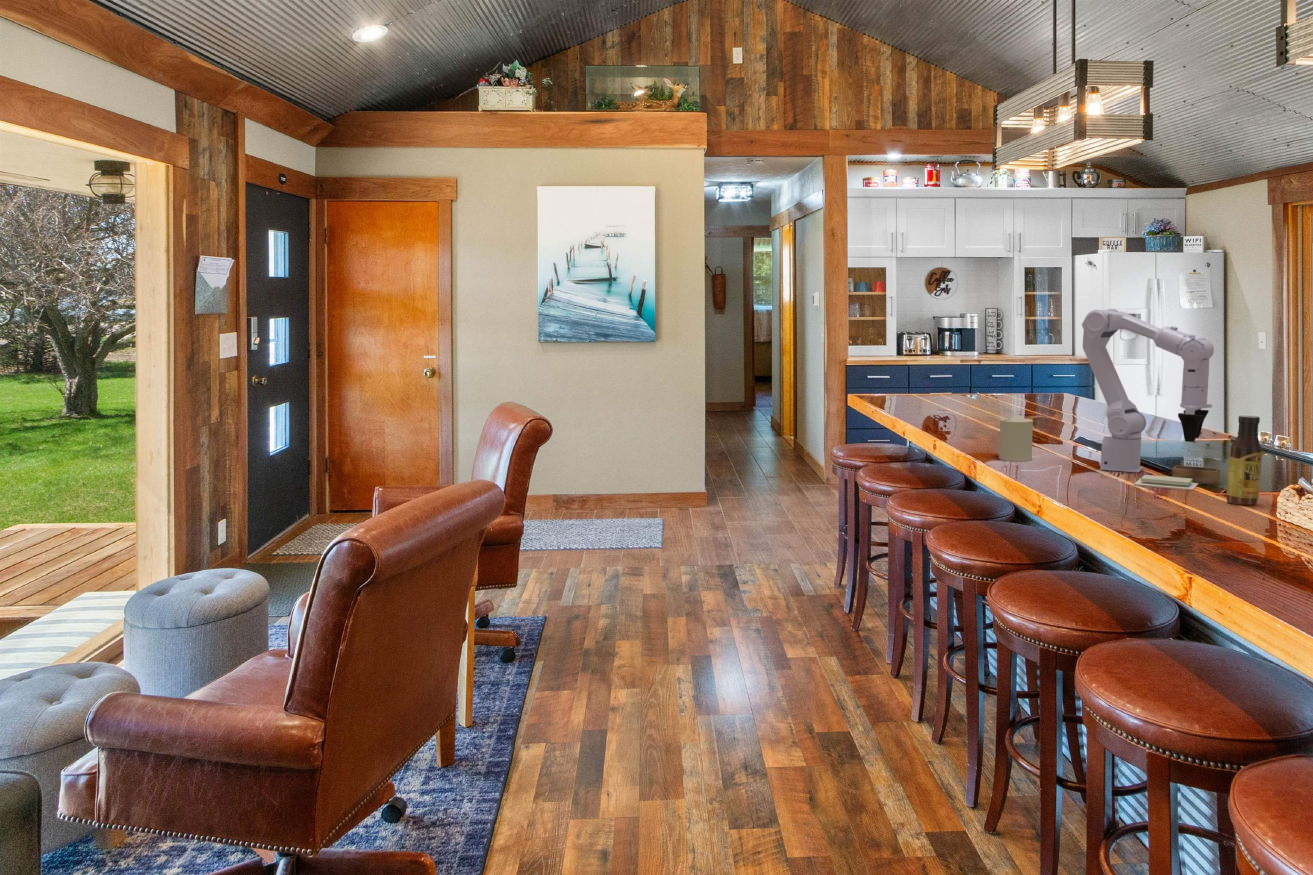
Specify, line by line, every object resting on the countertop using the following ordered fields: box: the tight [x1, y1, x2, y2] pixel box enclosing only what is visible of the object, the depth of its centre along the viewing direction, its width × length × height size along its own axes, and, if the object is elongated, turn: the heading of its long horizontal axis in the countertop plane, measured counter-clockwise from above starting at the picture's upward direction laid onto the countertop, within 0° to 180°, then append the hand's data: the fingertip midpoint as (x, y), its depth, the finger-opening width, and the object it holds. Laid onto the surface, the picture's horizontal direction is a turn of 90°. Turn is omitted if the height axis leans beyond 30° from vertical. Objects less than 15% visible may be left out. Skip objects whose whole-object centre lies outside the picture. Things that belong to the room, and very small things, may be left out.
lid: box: [1140, 474, 1192, 486], centre depth 237 cm, size 11×6×1 cm, turn 53°
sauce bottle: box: [1226, 415, 1263, 506], centre depth 214 cm, size 6×6×20 cm
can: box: [998, 417, 1034, 462], centre depth 279 cm, size 9×9×12 cm
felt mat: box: [1133, 477, 1199, 492], centre depth 237 cm, size 13×8×1 cm, turn 54°
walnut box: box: [1171, 465, 1221, 486], centre depth 240 cm, size 10×5×4 cm, turn 54°
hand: (1191, 439), depth 245 cm, fingers open, 7 cm apart
